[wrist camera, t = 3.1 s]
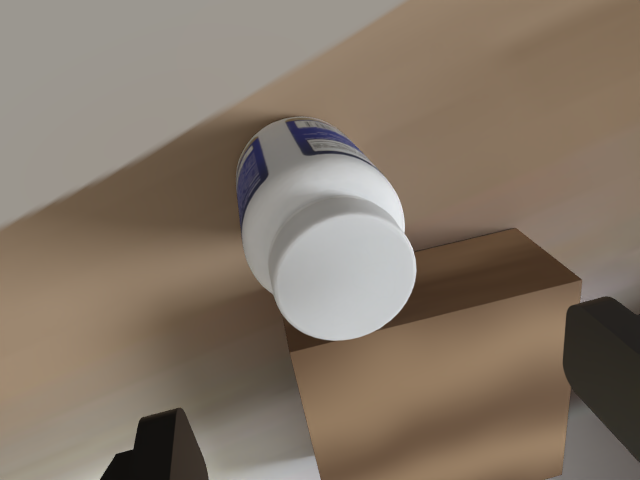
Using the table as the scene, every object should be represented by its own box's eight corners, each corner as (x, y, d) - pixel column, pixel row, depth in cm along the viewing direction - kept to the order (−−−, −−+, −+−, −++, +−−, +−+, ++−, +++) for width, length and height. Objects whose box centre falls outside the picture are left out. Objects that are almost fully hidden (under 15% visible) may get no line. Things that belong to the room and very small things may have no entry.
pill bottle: (278, 252, 22) (309, 390, 14) (210, 158, 20) (203, 263, 12) (379, 192, 22) (467, 299, 14) (322, 88, 19) (389, 149, 12)
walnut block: (276, 284, 23) (289, 352, 19) (516, 228, 24) (582, 279, 20) (318, 455, 29) (335, 538, 24) (511, 403, 30) (561, 474, 25)
